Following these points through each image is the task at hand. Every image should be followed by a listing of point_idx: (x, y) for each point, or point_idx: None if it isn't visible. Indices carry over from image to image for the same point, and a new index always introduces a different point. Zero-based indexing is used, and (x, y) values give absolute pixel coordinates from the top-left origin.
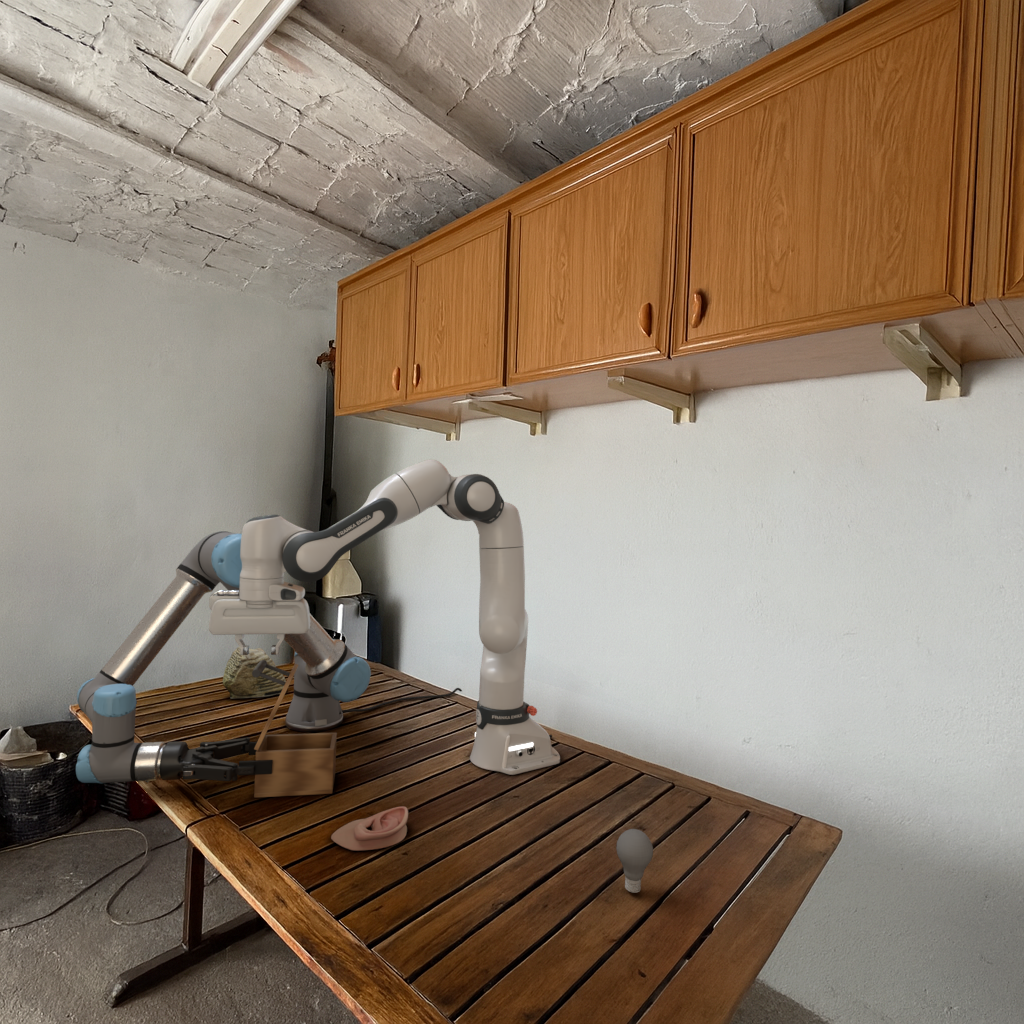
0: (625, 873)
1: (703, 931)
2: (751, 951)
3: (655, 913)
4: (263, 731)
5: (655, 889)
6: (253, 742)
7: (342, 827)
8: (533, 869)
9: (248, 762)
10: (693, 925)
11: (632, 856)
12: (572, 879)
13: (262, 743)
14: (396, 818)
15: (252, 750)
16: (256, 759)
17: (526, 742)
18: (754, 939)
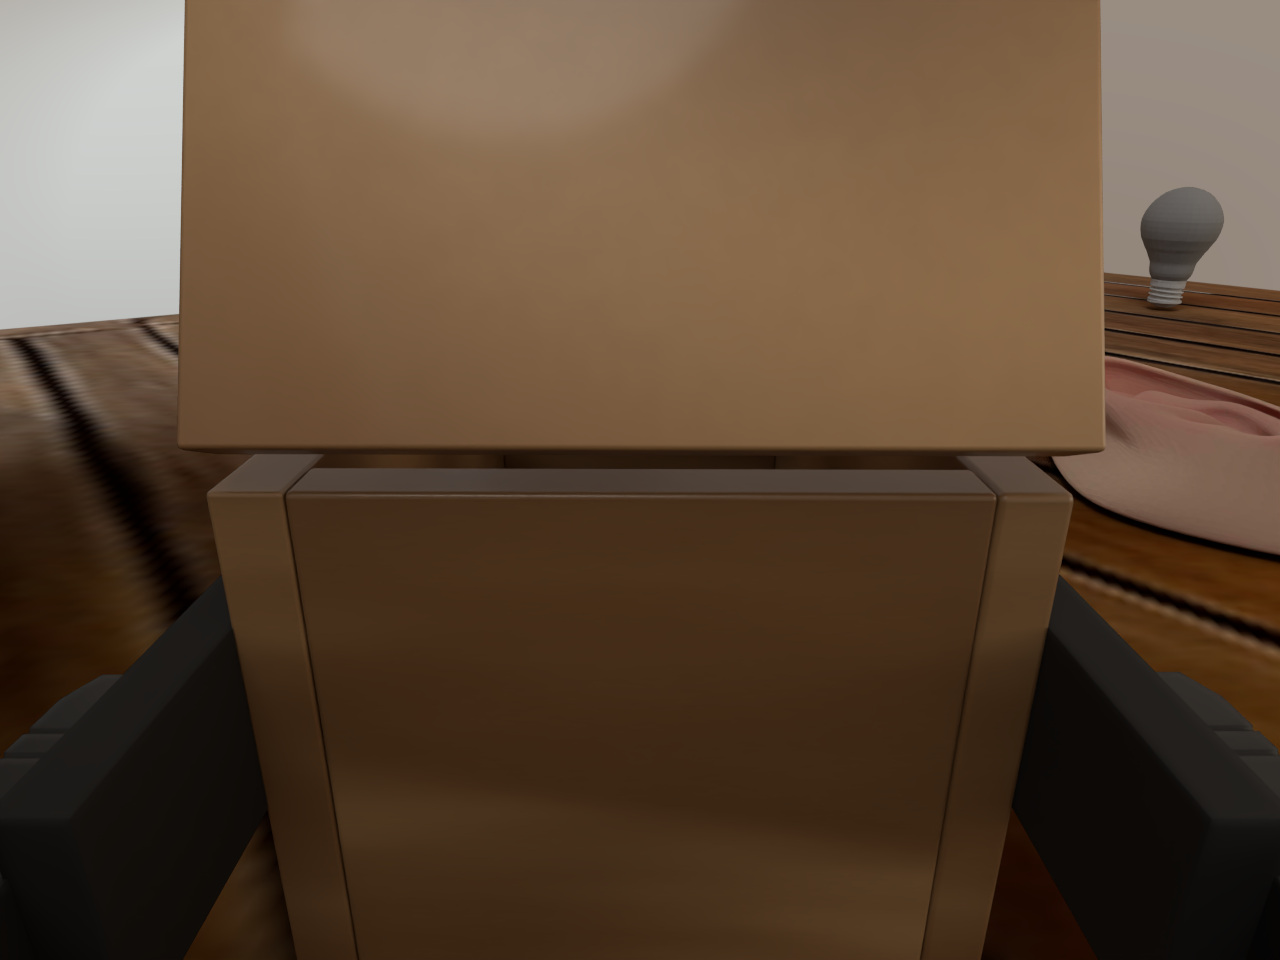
0: (1187, 271)
1: (1233, 297)
2: (1251, 289)
3: (1217, 307)
4: (1095, 74)
5: (1135, 301)
6: (96, 749)
7: (1255, 514)
8: (1162, 346)
9: (1170, 694)
10: (1223, 298)
11: (1223, 222)
12: (1167, 329)
13: (649, 478)
14: (1145, 391)
15: (160, 891)
16: (1046, 605)
17: None
18: (1216, 286)
